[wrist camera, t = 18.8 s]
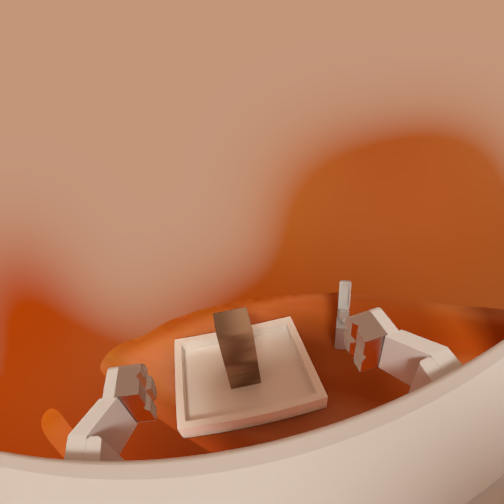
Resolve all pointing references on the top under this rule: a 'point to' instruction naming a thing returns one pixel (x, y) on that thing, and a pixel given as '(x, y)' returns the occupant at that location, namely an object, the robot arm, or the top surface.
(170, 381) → the top surface
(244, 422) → the tray
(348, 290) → the lighter
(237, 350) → the walnut block
